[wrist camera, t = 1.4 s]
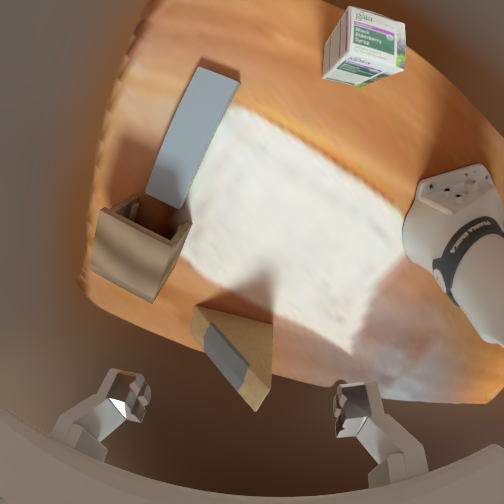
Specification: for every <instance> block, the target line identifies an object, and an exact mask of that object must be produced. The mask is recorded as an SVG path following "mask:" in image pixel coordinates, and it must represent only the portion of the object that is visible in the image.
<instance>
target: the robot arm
mask: <svg viewBox="0 0 504 504" xmlns="http://www.w3.org/2000/svg"><path fill="white" fill-rule="evenodd" d="M485 177H486V178H485ZM431 184H432V186H431V188H430V185H431ZM402 240H403V246H404V250H405V252H406V254H407V256H408V257H409V259H410V260H411V261H412V262H414V263H415V264H417V265H419V266H421V267H423V268H425V269H426V270H427V271H429V272H430V273H431V274H432V275H433V276H434V277H435V279H436V281H437V283H438V284H439V286H440V287H441V289H442V290H443V291H444V293H446V294H447V295H448V297H449V298H450V299H451V300H452V302H453V303H454V304H455V305H457V306H459V307H460V308H461V309H462V310H463V312H464V313H465V315H466V316H467V318H468V319H469V320H470V322H471V323H472V325H473V326H474V328H475V329H476V331H477V332H478V334H479V335H480V337H481V338H482V339H483V340H484V341H486V342H488V343H498V344H499V345H501V346H502V347H503V348H504V212H503V206H502V201H501V198H500V195H499V193H498V191H497V189H496V188H495V187H494V185H493V182H492V179H491V176H490V174H489V172H488V171H487V169H486V168H485V167H484V166H483V165H482V164H480V163H478V164H474V165H470V166H467V167H464V168H460V169H457V170H453V171H450V172H447V173H443V174H440V175H436V176H433V177H430V178H427V179H423V180H421V181H420V182H419V184H418V186H417V191H416V197H415V201H414V203H413V205H412V207H411V208H410V210H409V212H408V214H407V216H406V219H405V222H404V226H403V233H402ZM337 390H338V394H336V395H335V399H334V415H335V417H337V421H336V424H335V428H336V437H337V438H339V437H350V436H356V437H357V439H358V440H359V441H360V442H361V443H362V445H363V446H364V447H365V448H366V450H367V451H368V452H369V453H370V454H371V456H372V457H373V458H374V459H375V460H376V461H377V463H378V464H379V465H378V466H377V467H376V468H374V469H373V470H372V471H371V472H370V473H369V474H368V478H369V489H365V490H360V491H354V492H347V493H340V494H332V495H322V496H308V497H253V496H239V495H229V494H221V493H213V492H207V491H200V490H195V489H190V488H185V487H180V486H175V485H171V484H168V483H164V482H159V481H156V480H152V479H149V478H145V477H142V476H139V475H136V474H133V473H130V472H127V471H124V470H121V469H119V468H116V467H113V466H111V465H108V464H106V463H103V462H104V459H105V456H106V453H107V448H106V447H104V446H103V445H102V444H101V443H100V441H102V440H103V439H104V438H105V437H106V436H107V435H109V434H110V433H111V432H112V431H113V430H115V429H116V428H117V427H118V426H119V425H120V424H121V423H122V422H124V421H125V419H128V420H131V421H135V422H140V423H141V422H142V419H143V416H144V414H145V409H144V406H146V405H147V404H148V403H149V400H150V395H151V391H150V388H149V386H148V385H147V384H146V383H145V382H144V377H143V376H142V374H136V373H132V372H127V371H123V370H118V369H114V368H112V369H111V370H109V372H108V374H107V376H106V378H105V379H104V381H103V383H102V385H101V387H100V389H99V391H98V393H97V395H95V394H93V395H92V396H90V397H89V398H87V399H86V400H84V401H82V402H81V403H80V404H78V405H76V406H75V407H73V408H72V409H70V410H68V411H67V412H65V413H64V414H62V415H60V417H59V419H58V421H57V423H56V425H55V427H54V429H53V431H52V433H51V435H50V436H49V435H47V434H45V433H44V432H42V431H40V430H39V429H37V428H35V427H34V426H32V425H31V424H29V423H28V422H26V421H25V420H23V419H22V418H20V417H19V416H17V415H16V414H15V413H13V412H12V411H10V410H8V409H3V410H0V504H504V449H503V448H502V447H500V446H498V445H496V444H493V445H490V446H488V447H486V448H484V449H482V450H480V451H478V452H476V453H474V454H472V455H470V456H468V457H466V458H464V459H462V460H459V461H457V462H454V463H452V464H450V465H447V466H445V467H442V468H440V469H437V470H434V471H432V472H429V471H428V466H427V461H426V457H425V452H424V448H423V445H422V444H421V443H420V442H418V441H417V440H416V439H415V438H414V437H413V436H412V435H411V434H410V433H408V432H407V431H406V430H405V429H404V428H403V427H402V426H401V425H400V424H399V423H397V422H396V421H395V420H394V419H393V418H392V417H391V416H390V415H389V414H385V413H384V409H383V405H382V400H381V396H380V392H379V388H378V385H377V383H376V381H370V382H360V383H351V384H343V385H339V386H338V389H337Z"/></svg>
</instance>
